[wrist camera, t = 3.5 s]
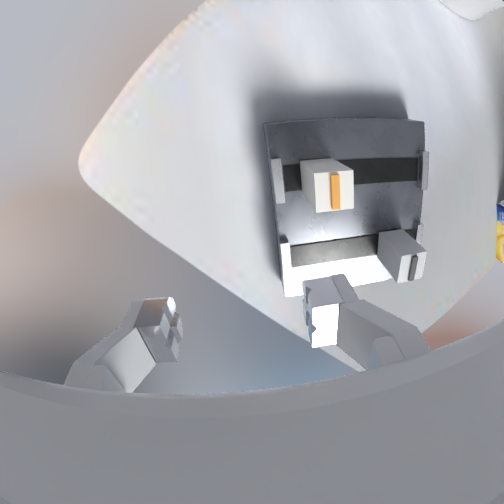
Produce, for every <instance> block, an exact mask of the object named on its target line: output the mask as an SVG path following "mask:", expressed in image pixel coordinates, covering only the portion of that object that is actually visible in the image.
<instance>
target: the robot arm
mask: <svg viewBox="0 0 504 504" xmlns="http://www.w3.org/2000/svg"><path fill="white" fill-rule="evenodd" d="M439 1H440V2H442V3H443V4H444V5H445V6H446V7H448V8H449V9H450V10H452V11H453V12H454V13H456V14H458V15H459V16H461V17H463V18H466V19H469V20H479V19H480V18H482V17H483V16H484V15H486V14H488V13H489V12H491V11H494V10H496V9H499V8H502V7H504V0H439ZM302 291H303V294H304V299H303V311H304V318H305V322H306V325H307V326H309V337H310V341H311V344H312V347H318V346H325V345H331V344H336V345H337V346H338V347H339V348H341V349H342V350H343V351H344V352H345V353H347V354H348V355H349V356H350V357H351V358H353V359H354V360H355V361H356V362H357V363H359V364H360V365H361V366H362V367H364V368H365V369H366V371H363V372H359V373H355V374H351V375H346V376H342V377H337V378H332V379H328V380H322V381H317V382H311V383H306V384H299V385H293V386H286V387H279V388H272V389H263V390H253V391H242V392H230V393H212V394H142V393H132V392H133V391H134V390H135V388H136V387H137V386H138V385H139V383H140V382H141V381H142V380H143V379H144V378H145V376H146V375H147V374H148V372H150V371H151V369H152V368H153V367H154V366H155V364H156V363H159V362H177V360H178V355H179V350H180V347H179V345H178V342H179V341H180V340H181V339H182V334H183V326H182V322H181V318H180V315H179V314H177V313H176V312H175V307H176V305H175V303H174V300H173V299H172V298H171V297H162V298H150V299H138V300H134V301H133V302H132V303H131V306H130V308H129V310H128V312H127V314H126V316H125V318H124V321H123V323H122V325H121V327H120V328H116V329H115V330H114V331H113V332H111V333H110V334H109V335H108V336H106V337H105V338H104V339H102V340H101V341H100V342H99V343H98V344H96V345H95V346H94V347H92V348H91V349H90V350H89V351H87V352H86V353H85V354H84V355H82V356H81V357H80V358H79V359H78V360H76V361H75V362H74V363H73V365H72V368H71V370H70V372H69V374H68V376H67V378H66V381H65V383H64V385H60V384H54V383H49V382H44V381H39V380H34V379H30V378H26V377H21V376H18V375H14V374H10V373H6V372H3V371H0V504H504V320H502V321H500V322H498V323H496V324H494V325H492V326H490V327H488V328H486V329H484V330H481V331H479V332H477V333H475V334H472V335H470V336H468V337H465V338H463V339H461V340H458V341H456V342H453V343H451V344H448V345H446V346H443V347H440V348H438V349H435V350H432V351H431V349H430V348H429V346H428V344H427V343H426V341H425V339H424V338H423V336H422V335H421V333H420V331H419V330H418V328H417V327H416V326H414V325H412V324H410V323H408V322H406V321H404V320H402V319H400V318H398V317H396V316H395V315H393V314H391V313H389V312H387V311H385V310H383V309H381V308H379V307H377V306H375V305H373V304H371V303H369V302H367V301H365V300H359V298H358V297H357V295H356V293H355V291H354V289H353V288H352V286H351V284H350V282H349V281H348V279H347V277H346V275H345V274H344V273H341V274H336V275H330V276H327V277H321V278H315V279H309V280H302Z"/></svg>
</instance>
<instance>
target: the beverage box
mask: <svg viewBox="0 0 504 504" xmlns="http://www.w3.org/2000/svg"><path fill="white" fill-rule="evenodd" d="M496 258H497V259H498V260H500V261H501V262H502V263H503V264H504V200H502V201H501V202H500V203H498V204H497V256H496Z"/></svg>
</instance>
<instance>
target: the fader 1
mask: <svg viewBox="0 0 504 504" xmlns="http://www.w3.org/2000/svg"><path fill="white" fill-rule="evenodd" d="M300 170H301V182H302V193H303V195H304V196H305V198H306V199H307V200H308V202H309V203H310V205H311V206H312V207H313V209H314V210H315V212H316V213H320V212H328V211H337V210H346V209H354V177H353V170H352V169H350V168H349V167H347V166H345V165H344V164H342V163H340V162H338V161H337V160H335V159H333V158H328V159H315V160H304V161H300Z"/></svg>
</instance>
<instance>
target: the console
mask: <svg viewBox="0 0 504 504" xmlns="http://www.w3.org/2000/svg"><path fill="white" fill-rule="evenodd" d="M263 127H264V134H265V141H266V149H267V157H268V165H269V173H270V181H271V189H272V197H273V206H274V215H275V224H276V233H277V242H278V252H279V262H280V272H281V282H282V286H283V291H284V295H285V297H290V296H297V295H303V291H302V280H309V279H315V278H321V277H327V276H330V275H336V274H341V273H344V274H345V275H346V277H347V279H348V281H349V282H350V284H351V286H356V285H362V284H367V283H372V282H377V281H383V280H388V279H393V277H392V276H391V275H390V273H389V272H388V271H387V269H386V268H385V267H384V266H383V264H382V263H381V262H380V260H379V259H378V258H377V251H378V240H379V232H385V231H392V230H400V229H403V230H404V231H405V232H406V233H408V234H409V235H410V236H411V237H412V238H413V239H414V240H415V241H416V242H417V243H419V244H420V245H421V241H422V234H423V227H424V225H423V224H422V223H421V222H420V218H421V208H422V197H423V190H427V187H428V170H429V152H428V151H425V134H424V122H422V121H416V120H410V119H395V118H322V119H304V120H291V121H280V122H271V123H263ZM328 158H333V159H335V160H337V161H338V162H340V163H342V164H344V165H345V166H347V167H349V168H350V169H352V170H353V177H354V209H346V210H337V211H328V212H320V213H316V212H315V210H314V209H313V207H312V206H311V205H310V203H309V202H308V200H307V199H306V198H305V196H304V195H303V193H302V182H301V170H300V161H304V160H315V159H328Z"/></svg>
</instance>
